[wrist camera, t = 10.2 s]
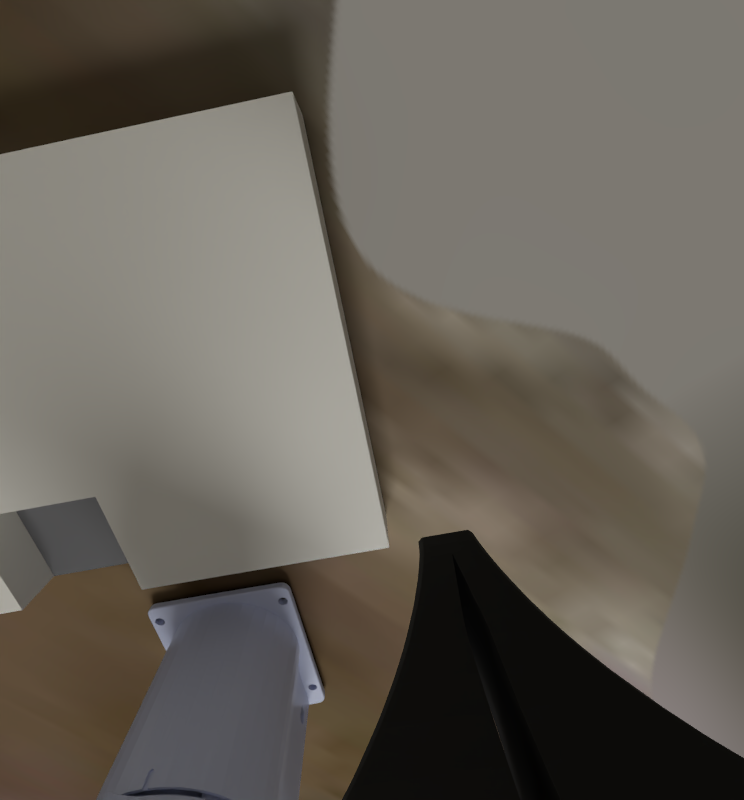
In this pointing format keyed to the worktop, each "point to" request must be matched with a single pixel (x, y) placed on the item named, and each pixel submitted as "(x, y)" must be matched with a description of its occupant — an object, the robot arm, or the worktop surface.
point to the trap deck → (176, 357)
